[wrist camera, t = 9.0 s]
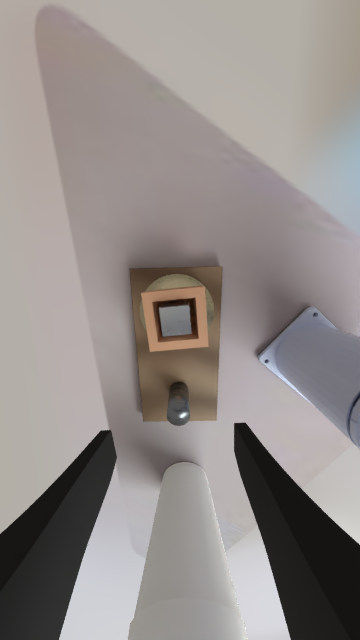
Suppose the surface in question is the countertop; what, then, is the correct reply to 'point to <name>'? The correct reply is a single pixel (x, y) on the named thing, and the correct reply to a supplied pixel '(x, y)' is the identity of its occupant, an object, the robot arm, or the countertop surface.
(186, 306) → the hub
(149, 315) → the collar
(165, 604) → the foam cup
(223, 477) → the countertop surface
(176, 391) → the stand rod
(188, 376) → the jig board
